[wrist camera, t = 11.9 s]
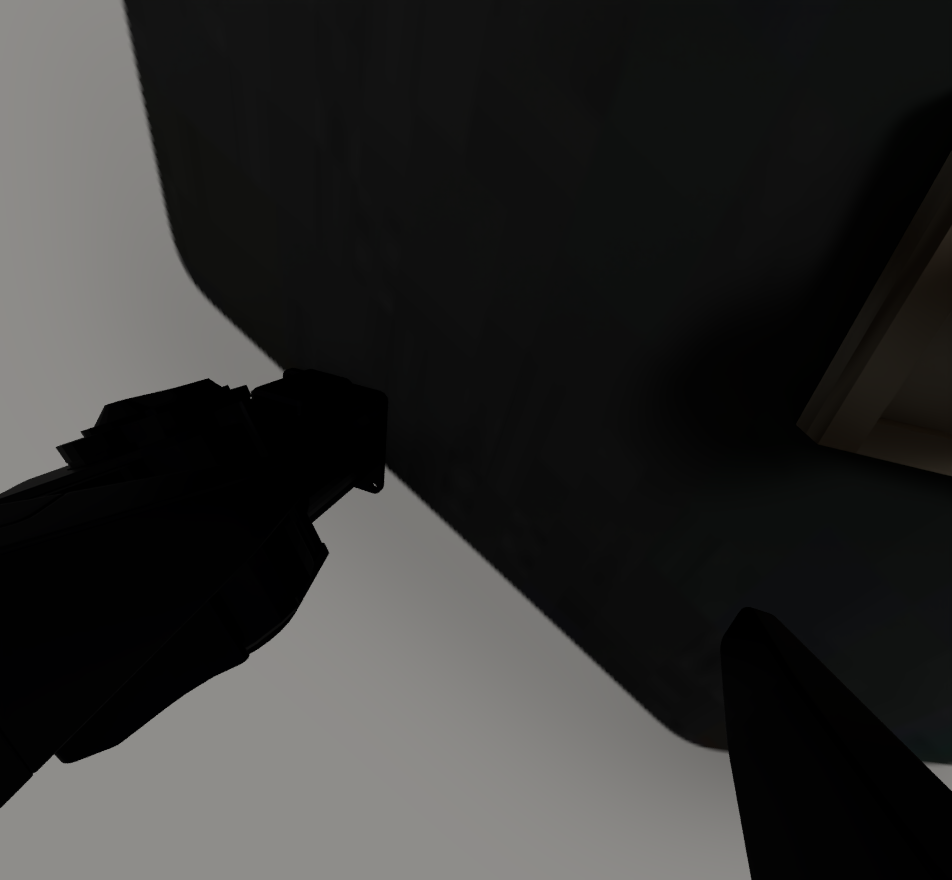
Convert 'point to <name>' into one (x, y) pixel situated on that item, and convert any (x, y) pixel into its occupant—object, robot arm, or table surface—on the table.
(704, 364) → the table surface
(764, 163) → the table surface
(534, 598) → the table surface
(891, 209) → the table surface
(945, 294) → the birch stand
